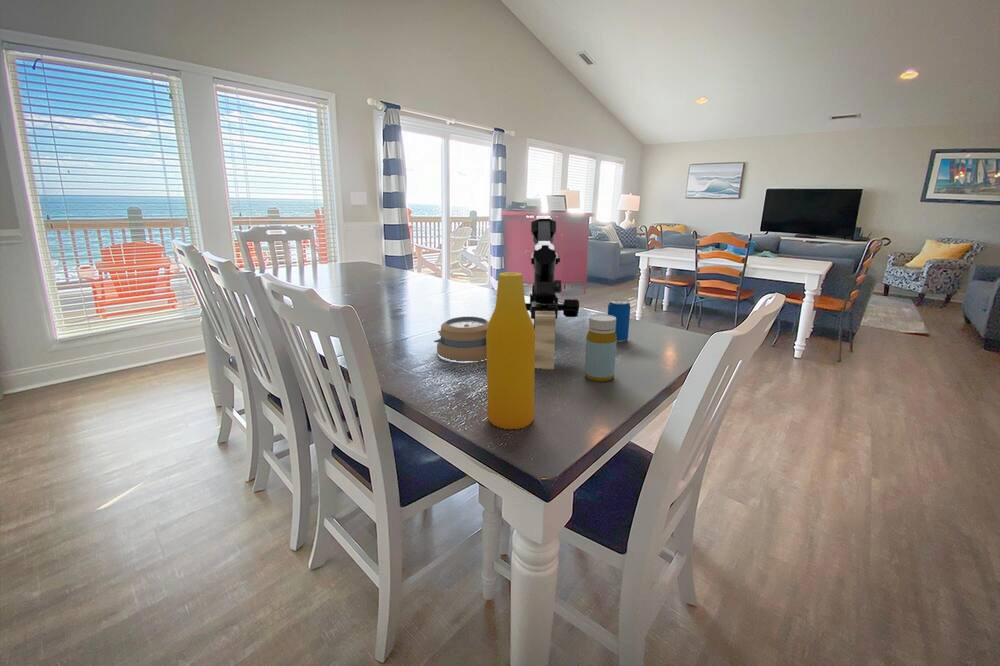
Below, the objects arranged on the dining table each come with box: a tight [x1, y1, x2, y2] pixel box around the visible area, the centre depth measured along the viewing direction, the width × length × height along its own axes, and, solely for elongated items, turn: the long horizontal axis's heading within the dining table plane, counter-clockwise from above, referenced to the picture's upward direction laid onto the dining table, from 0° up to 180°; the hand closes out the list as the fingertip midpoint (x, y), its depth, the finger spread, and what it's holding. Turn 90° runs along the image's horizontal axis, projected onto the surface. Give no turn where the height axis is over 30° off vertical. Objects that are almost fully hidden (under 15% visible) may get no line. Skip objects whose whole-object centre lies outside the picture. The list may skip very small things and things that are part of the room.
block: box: [535, 311, 557, 370], centre depth 114 cm, size 5×5×14 cm
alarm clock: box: [433, 316, 490, 361], centre depth 125 cm, size 17×9×23 cm
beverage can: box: [607, 299, 631, 343], centre depth 134 cm, size 6×6×12 cm
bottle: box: [584, 313, 618, 383], centre depth 106 cm, size 7×7×15 cm
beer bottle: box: [486, 271, 536, 430], centre depth 84 cm, size 9×9×29 cm
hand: (544, 334), depth 119 cm, fingers closed
